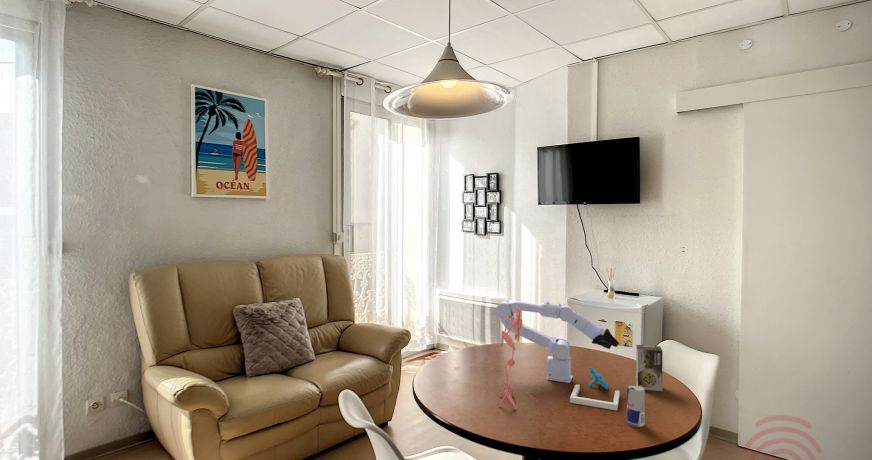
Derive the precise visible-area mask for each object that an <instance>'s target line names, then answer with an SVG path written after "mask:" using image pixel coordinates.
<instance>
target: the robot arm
mask: <svg viewBox="0 0 872 460" xmlns="http://www.w3.org/2000/svg"><path fill="white" fill-rule="evenodd" d="M517 306H518V308H519V309H521V312H529V313H530V312H531V313H539V315H540V316H541V317H543V318H551V319H561V321H562V322H566V323H568V324H570V325H571V326H572V327H573V328H575V329H576V330H577V331H579V332H581V333H582V334H583V335H584V336H586V337H587V338H589V340H591V344H593V345H597V346H601V347H603V348H604V349H605V348H606V349H608V350H611V347H614V348H618V346H619V344H620V342H619V341H618V340H617V339H616V337H614V335H612V333H611V331H610V330H609V328H605V329H604V328H603V327H601V326H602V325H601V324H598V325H596V324H595V323H594V322H592V321H590V320H589V319H588V318H586V317H584V316H583V315H581V314H580V313H578V312H577V311H575V310H573V309H572V307H571V306H570V305H567V304H565V303H563V304H562V303H558V304H554V303H550V301H545V302H542V303H541V304H536V303H532V302H525V301H521V300H520V301H519V300H514V299H510V300H509V299H502V300H501V301H500V302H499V303H498V304H497V306H496V309H495V312H496V317H497V319H498V320H499V321H500V322H501V324H502V325H503V326H504V328H505V327H506V324H507V321H508V318H509V315H511V316H512V317H513V318H514V319H516V316H515V314H516V309H517ZM512 324H513V322H512V320H511V319H509V322H508V325H507V329H506V331H508V330H509V329H510V327H511V326H512ZM522 324H523V325H522V328H521V330H520V337H521V338H524V339H525V340H528V341H530V342H532V343H534V344H537V345H539V346H541V347H543V348H545V349H546V350H547V351H548V352H549V353H551V354H552V355H548V357H547V359H546V360H547V361H546V381H547V380H548V381H554V382H555V381H556V382H560V383H568V384H570V383H571V382H572V379H573V377H574V376H573V375H571V373H572V372H571V371H572V370H571V368H572V367H571V366H572V365H571V363H572V362H571V361H572V360H571V359H572V358H571V355H570V354H571V351H570V344H569V341H568V340H566V339H565V338H557V337H555V336H550V335H548V334H545V333H543V332H540V331H539V330H536V329H534V328H532V327H530V326H528V325H526V324H524V323H522ZM509 332H511V333H513V334H515V329H514V327H512V328H511V330H510V331H509Z"/></svg>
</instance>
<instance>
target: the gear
mask: <svg viewBox="0 0 872 460" xmlns="http://www.w3.org/2000/svg"><path fill="white" fill-rule="evenodd" d="M588 370H589V372H590V373H591V375H592V377H593V380H591V381H590V383H589V384H588V387H590V388H591V387H593V386H594V385H595V384H596V383H597V384H598V383H600V385H601V386H602V387H603V388H604V389H606V390H608V389H609V385H608V383H607V382H606V380H605V379H604V378H602V375H601V373H599V372H598V371H596V370H595V369H594V368H593V367H589V368H588Z"/></svg>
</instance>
